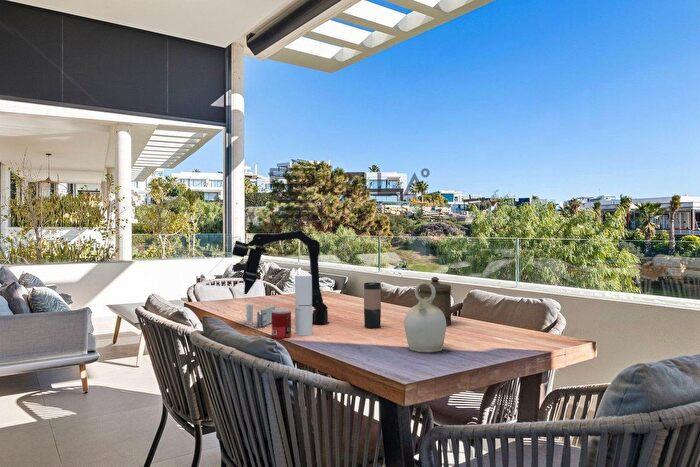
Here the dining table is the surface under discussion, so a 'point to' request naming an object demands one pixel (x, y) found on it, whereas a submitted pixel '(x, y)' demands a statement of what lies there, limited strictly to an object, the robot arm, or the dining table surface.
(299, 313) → the cylindrical container
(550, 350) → the dining table surface
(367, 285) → the travel mug
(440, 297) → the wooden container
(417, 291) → the jug
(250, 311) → the latch post
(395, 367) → the dining table surface
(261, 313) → the hinge post
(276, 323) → the canned food
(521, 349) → the dining table surface
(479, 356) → the dining table surface
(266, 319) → the gate
